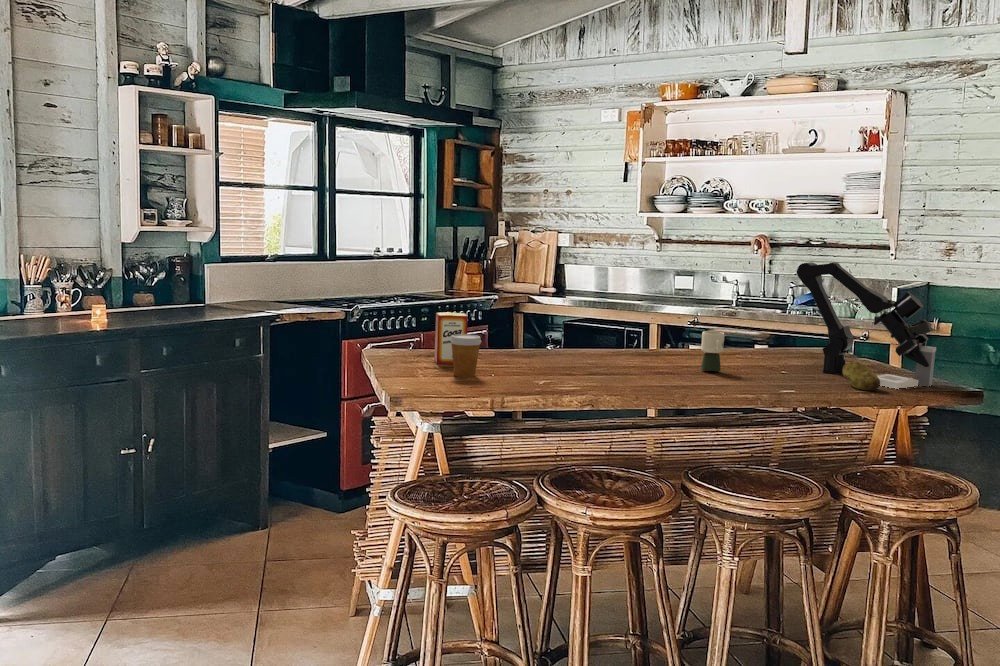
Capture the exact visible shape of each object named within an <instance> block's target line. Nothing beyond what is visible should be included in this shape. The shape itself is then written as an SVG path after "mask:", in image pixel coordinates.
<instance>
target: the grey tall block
mask: <svg viewBox="0 0 1000 666" xmlns="http://www.w3.org/2000/svg"><path fill="white" fill-rule="evenodd" d="M920 351H921V352H922V354H923V356H924V357H925V359H926V360H927V362H928V364H929V366H928V367H924V366H922V365H921V364H919V363H917V362H915V364H916V365H915V371H914V372H915V373H914V379H915V380H918V385H922V386H928V387H927V388H930V387H932V386H931V385H933V377H934V369H935V368H934V367H935V359H936V352H937V347H936V346H929V345H926V346H921V348H920ZM922 386H921V387H922ZM929 386H930V387H929Z"/></svg>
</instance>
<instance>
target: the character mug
mask: <svg viewBox="0 0 1000 666" xmlns="http://www.w3.org/2000/svg"><path fill="white" fill-rule="evenodd" d="M724 342H725V332H723V331H713V330H704V331H702V333H701V347H700V348H701V351H702V352H704V354H703V357H702V361H701V367H700V369H701V371H709V372H711V373H714V372H721V371H722V370H721V357H720V353H723V352H724V344H725V343H724Z"/></svg>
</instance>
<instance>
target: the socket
mask: <svg viewBox="0 0 1000 666" xmlns="http://www.w3.org/2000/svg"><path fill="white" fill-rule="evenodd" d="M876 376H877V377H878V378H879V380H880V386H879V387H882V386H885V387H884V388H887V387H889V388H888V389H891V388H895V389H894V390H896V389H898V390H900V389H899V388H906V389H908V388H907V387H914V386H918V380H915V377H914V378H913V377H905V376H900V375H896V374H895V375H894V374H890V373H885V374H883V373H882V374H876ZM918 387H919V386H918ZM914 388H915V387H914Z"/></svg>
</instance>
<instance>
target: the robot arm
mask: <svg viewBox="0 0 1000 666" xmlns="http://www.w3.org/2000/svg"><path fill="white" fill-rule="evenodd" d="M796 275H797V277H798V278H799V280H800V281H801V283H802V284H803V285H804V286H805V287H806V288H807V289H808V290H809V291H810V293H811V294H810V295H811V296H812V298H813V300H814V302H815V304H816V307H817V309H818V311H819V313H820V315H821V317H822V319H823V321H824V323H825V326H826V327H827V336H828V340H829V341H828V342H829V343H827V345H825V346H824V347H822V353H823V355H824V358H823V359H824V360H823V367H822V368H823V369H822V371H821V372H822V373H827V374H835V375H843V372H842V370H843V366H844V365H845V364H846V363H847V359H846V357H845V356H846V353H847V352H848V350H849V349H851V348H852V347H853V345H854V342H855V341H854V337H855V335H854V334H853V332H851V331H852V330H851V329H850V326H849V325H845V326H844V325H843V324H842V323H841V321H840V320H839V317H838V315H837V312H836V311H835V309H834V307H833V305H832V303H831V300H830V298H829V296H828V294H827V292H826V290H825V288H824V286H823V279H822V276H825V275H830V276H832V277H833V278H834V279H835V280H837V281H838V282H839V283H840V284H841V285H842V286H844V287H845V288H846V289H848V290H849V291H850V292H851V293H852V294H854V295H855V296H856V297H857V298H858V299H859V301H860V302H861V304H862V305H863V306H864V307H865V309H866V310H867V311H868V313H869V312H870V313H871V314H880V313H882V314H880V315H879V316H878V315H875V316H874V321H873V325H874V326H876V325H880V323H881V324H882V326H883V327H884V328H885V330H886V331H888V332H889V334H890V338H891V339H895V341H896V342H897V343H898V344H899V345H897V346H896V347H895V353H896V354H897V355H898V356H899V357H901V356H903V357H904V358H907V359H909V360H911V361H913V362H915V363H916V362H917V363H919V364H921V365H922V366H924V367H928V366H929V364H928V362H927V360H926V359H925V357H924V356H923V354H922V352H921V351H920V348H921V346H927V343H928V340H929V338H928V336H927V335H926V334H925V333H931V332H932V331H933V326H932V325H933V324H932V323H931V322H930V321H927V320H926V319H922V320H920V321H919V322H918V324H915V325H913V326H912V324H910V323H906V322H905V320H904V318H907V319H910V318H912V316H914V315H915V314H916V313H918V312H919V311H920V310H922V309H923V308H924V305H923V303H922V302H921V300H920V299H919V298H918V297H916V296H915V295H913V294H912V293H911V292H910V291H906V292H905V293H904V294H903V295H902V296H901V297H899V298H898V299H897V300H891V299H888V297H887V296H885V295H884V294H882V293H880V292H878V291H876V290H873V289H871V288H870V287H868V286H866V285H865V284H864V283H862V281H860V280H859V279H857V278H856V277H855V276H853V275H852V273H850V272H849V271H848V270H846V269H845V268H844V267H843V266H842V265H841V264H840V263H838V262H836V261H833V262H829V263H823V264H817V263H815V262H803V263H801V264H799V265H798V267H797V269H796ZM890 309H891V310H890ZM887 310H890V311H887ZM904 353H905V354H904Z"/></svg>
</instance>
